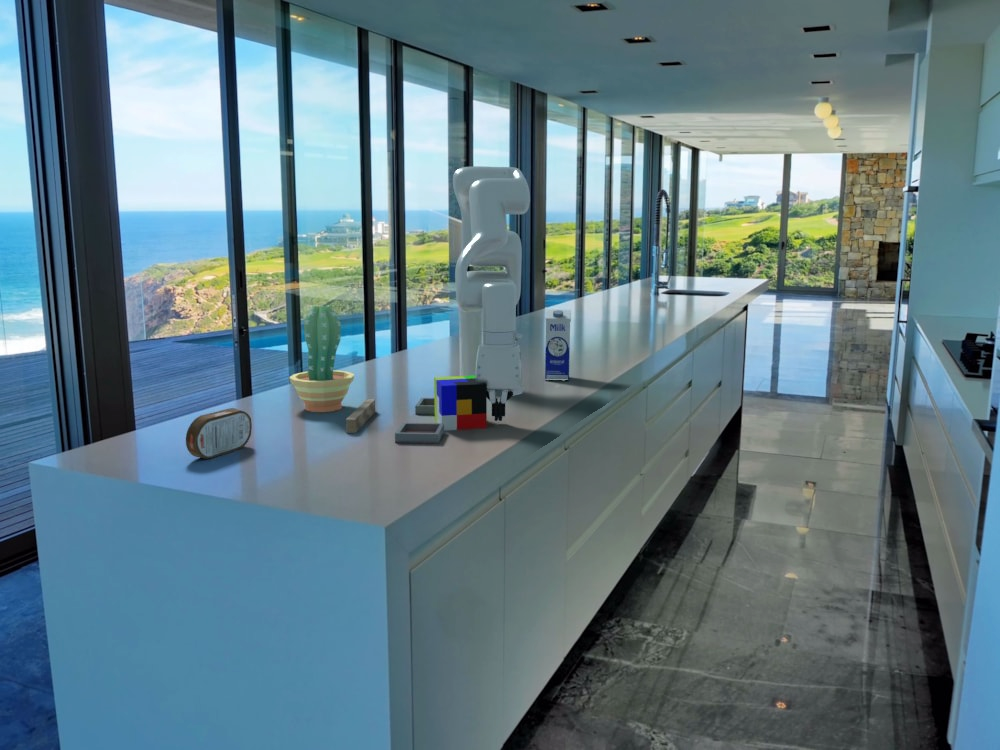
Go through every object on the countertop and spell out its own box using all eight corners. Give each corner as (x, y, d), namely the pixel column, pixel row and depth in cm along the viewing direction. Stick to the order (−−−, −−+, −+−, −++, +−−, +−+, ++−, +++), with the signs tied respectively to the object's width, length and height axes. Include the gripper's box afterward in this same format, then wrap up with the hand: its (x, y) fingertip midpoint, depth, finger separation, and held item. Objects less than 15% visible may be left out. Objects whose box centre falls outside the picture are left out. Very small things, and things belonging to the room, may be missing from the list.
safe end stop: (367, 411, 195) (366, 399, 195) (375, 411, 195) (375, 399, 195) (346, 432, 176) (345, 419, 175) (355, 433, 176) (355, 419, 175)
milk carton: (569, 377, 239) (571, 308, 235) (569, 381, 232) (570, 311, 228) (545, 376, 239) (546, 308, 236) (544, 381, 233) (545, 311, 229)
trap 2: (421, 405, 202) (421, 397, 201) (457, 406, 201) (457, 398, 201) (415, 414, 193) (415, 406, 192) (453, 414, 192) (453, 406, 192)
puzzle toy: (441, 430, 178) (441, 385, 176) (434, 419, 188) (434, 377, 186) (486, 428, 180) (486, 383, 178) (477, 417, 190) (477, 375, 188)
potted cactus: (365, 403, 204) (363, 303, 200) (337, 417, 190) (333, 310, 185) (310, 399, 208) (306, 301, 204) (278, 412, 194) (273, 308, 189)
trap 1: (403, 431, 177) (402, 422, 177) (444, 432, 176) (444, 423, 176) (395, 442, 168) (394, 433, 168) (438, 443, 168) (438, 434, 167)
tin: (244, 443, 168) (242, 403, 166) (255, 445, 166) (253, 405, 165) (185, 462, 155) (182, 419, 153) (197, 464, 153) (194, 421, 152)
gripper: (532, 336, 183) (532, 416, 187) (466, 335, 184) (467, 415, 187) (532, 341, 176) (531, 424, 179) (463, 340, 177) (463, 423, 180)
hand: (498, 419), depth 183 cm, fingers closed
